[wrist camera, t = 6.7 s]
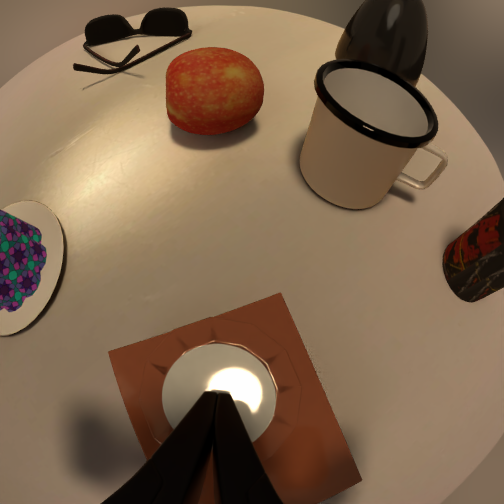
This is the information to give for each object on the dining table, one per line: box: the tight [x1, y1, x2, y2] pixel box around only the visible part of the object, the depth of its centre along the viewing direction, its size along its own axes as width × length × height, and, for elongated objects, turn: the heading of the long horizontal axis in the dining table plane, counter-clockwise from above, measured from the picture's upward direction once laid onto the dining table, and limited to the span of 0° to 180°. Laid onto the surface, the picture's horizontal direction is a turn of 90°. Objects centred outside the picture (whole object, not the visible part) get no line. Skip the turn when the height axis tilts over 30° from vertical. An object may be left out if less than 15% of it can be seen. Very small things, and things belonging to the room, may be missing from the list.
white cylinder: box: [162, 344, 276, 447], centre depth 12 cm, size 4×4×2 cm
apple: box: [166, 47, 264, 135], centre depth 24 cm, size 8×8×8 cm
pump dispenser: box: [335, 0, 428, 87], centre depth 26 cm, size 10×10×15 cm
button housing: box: [108, 293, 362, 504], centre depth 15 cm, size 12×10×6 cm
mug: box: [300, 59, 448, 209], centre depth 22 cm, size 12×9×9 cm
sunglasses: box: [73, 8, 192, 74], centre depth 30 cm, size 17×14×5 cm
